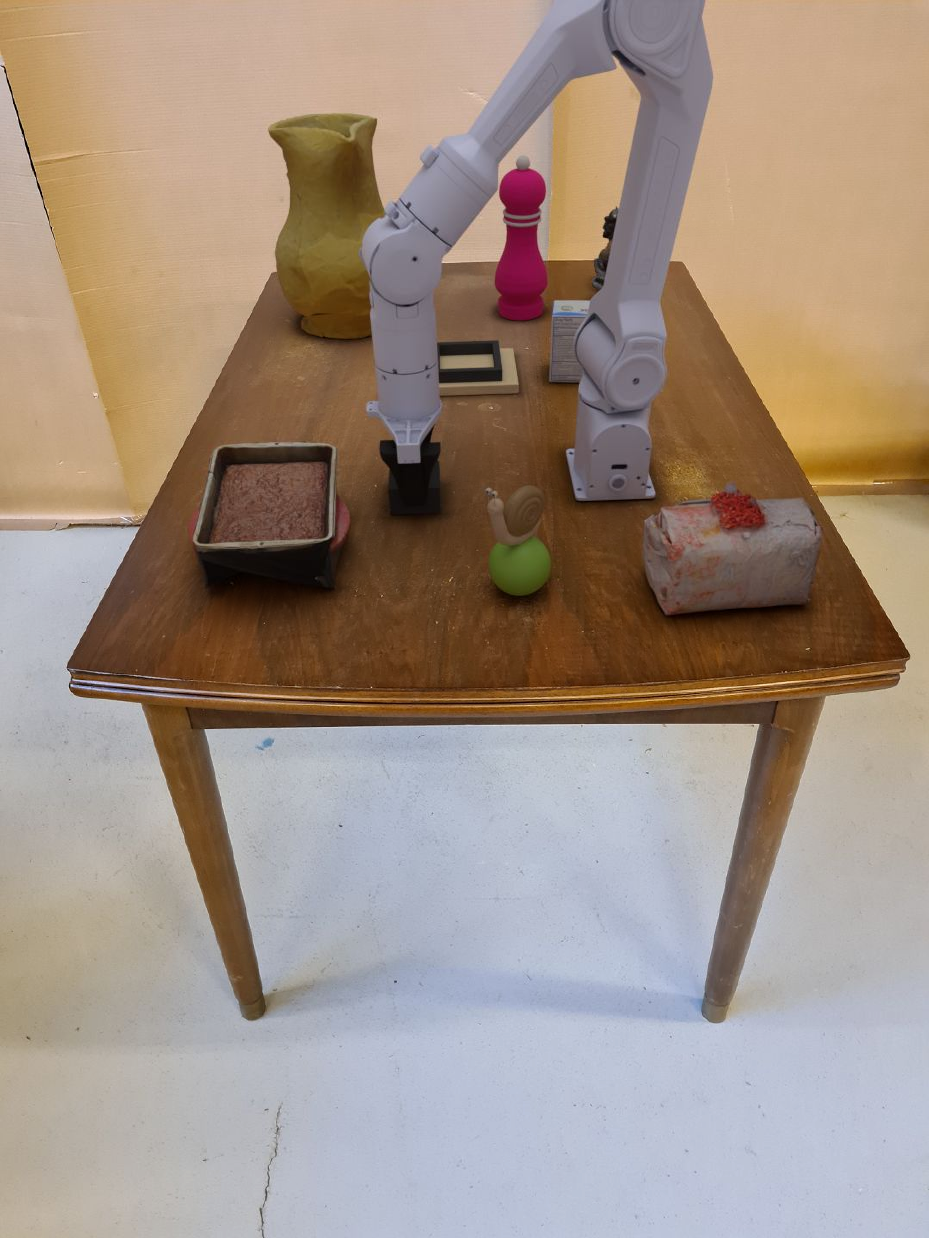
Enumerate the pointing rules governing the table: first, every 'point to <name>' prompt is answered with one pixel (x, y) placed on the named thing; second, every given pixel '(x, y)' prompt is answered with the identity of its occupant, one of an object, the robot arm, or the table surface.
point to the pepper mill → (521, 244)
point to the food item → (731, 552)
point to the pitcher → (328, 220)
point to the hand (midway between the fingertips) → (415, 488)
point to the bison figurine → (604, 250)
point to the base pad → (476, 368)
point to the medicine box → (565, 339)
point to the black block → (430, 507)
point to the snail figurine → (518, 542)
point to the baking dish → (271, 513)
